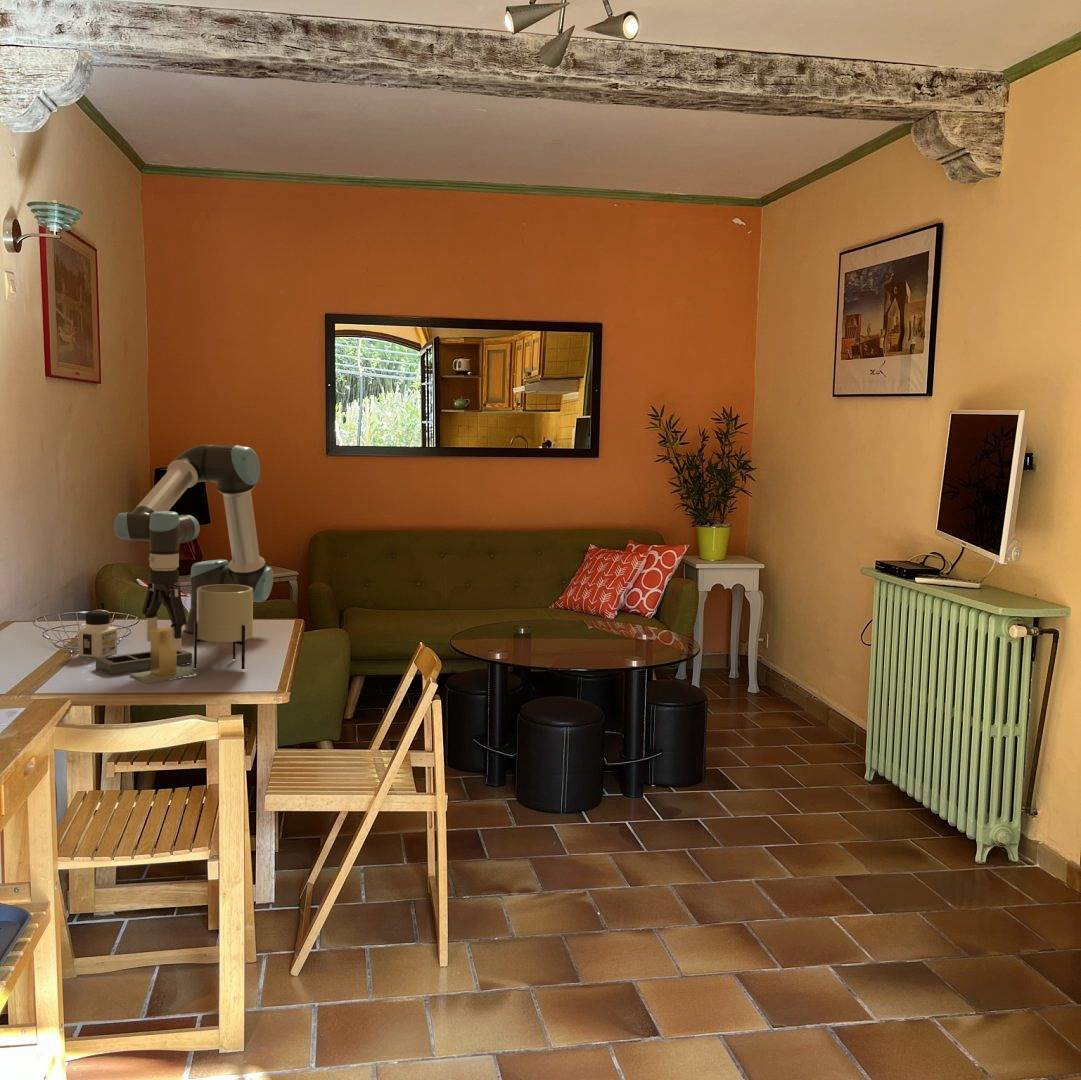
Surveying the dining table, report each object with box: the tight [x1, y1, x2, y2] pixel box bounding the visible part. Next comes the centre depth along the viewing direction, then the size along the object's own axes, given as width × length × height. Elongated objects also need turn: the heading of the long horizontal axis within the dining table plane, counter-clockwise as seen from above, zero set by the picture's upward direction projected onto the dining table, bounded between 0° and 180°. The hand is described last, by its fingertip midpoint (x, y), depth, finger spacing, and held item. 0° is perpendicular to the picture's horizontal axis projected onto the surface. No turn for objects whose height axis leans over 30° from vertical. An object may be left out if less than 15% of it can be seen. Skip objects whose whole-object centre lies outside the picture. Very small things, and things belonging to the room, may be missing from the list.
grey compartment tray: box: [95, 648, 193, 677], centre depth 299 cm, size 24×9×3 cm, turn 137°
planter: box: [193, 584, 254, 670], centre depth 301 cm, size 15×16×23 cm
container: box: [78, 609, 118, 659], centre depth 310 cm, size 8×8×13 cm
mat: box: [130, 666, 197, 684], centre depth 289 cm, size 14×10×1 cm
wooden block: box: [150, 626, 178, 677], centre depth 289 cm, size 5×5×12 cm
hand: (163, 645), depth 288 cm, fingers open, 13 cm apart
